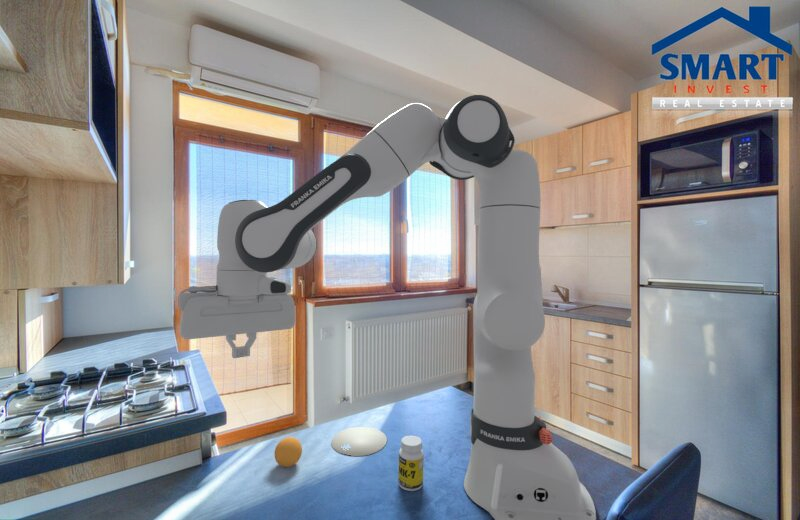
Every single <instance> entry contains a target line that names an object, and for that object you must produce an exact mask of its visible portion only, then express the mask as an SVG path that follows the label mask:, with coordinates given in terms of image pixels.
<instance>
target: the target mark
mask: <svg viewBox="0 0 800 520" xmlns="http://www.w3.org/2000/svg"><path fill="white" fill-rule="evenodd" d="M387 440H388V439H387V436H386V434H385V433H384V432H383V431H381V430H379V429H377V428H373V427H369V426H368V427H367V426H357V427H356V426H355V427H349V428H345V429H343V430H341V431H339V432H338V433H336V434H335V435H334V436H333V437H332V439H331V446H332V447H331V448H332V449H334V451H336V452H337V453H339V452H340V453H339V454H341V453H343V454H342V455H344V454H347V455H346V456H348V455H351V456H350V457H363V456H364V457H365V456H369V455H373V454H376V453H378V452H380V451H382V449H384V448H385V446H386V444H387ZM348 443H349V445H350V447H351V448H348V449H349V450H347V449H345V448H344V449H345V450H346V451H345V450H343V448H341V446H342V447H343V446H344V444H345V446H346V445H347V444H348Z"/></svg>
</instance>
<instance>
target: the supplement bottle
mask: <svg viewBox="0 0 800 520" xmlns="http://www.w3.org/2000/svg"><path fill="white" fill-rule="evenodd" d="M422 448H423V441H422V439H421V437H419V436H416V435H405V436H403V437H402V438H401V440H400V449H399V451H398V475H397V476H398V479H397V480H398V481H397V482H398V486H399V487H400V488H401V489H402V490H404V491H409V492H415V491H418V490H420V489H422V488H423V485H424V459H425V458H424V456H425V455H424V450H423V449H422Z"/></svg>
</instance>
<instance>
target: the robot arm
mask: <svg viewBox="0 0 800 520" xmlns="http://www.w3.org/2000/svg"><path fill="white" fill-rule="evenodd" d="M515 139H516V138H515V136H514V134H513V132H512V130H511V128H510V126H509V123H508V119H507V116H506V114H505V112H504V109H503V108H502V107H501V105H500V104H499V103H498V102H497V100H495V99H493V98H492V97H490V96H487V95H485V94H472V95H470V96H469V95H468V96H467V97H464V98H462V99H460V100H459V101H458V102H456V104H454V106H453V107H452V108H451V109H450V110H449V112H448V113H447V115H446V116H445V118H442V117H441V116H440V117H439V116H437V115H436V113H435V112H434V111H433V110H432V109H431V108H430V107H428V106H427V105H425V104H423V103H419V102H412V103H410V104H407V105H406V106H404V107H402V108H399V110H397V111H395V112H394V113H392V114H390V115H388V117H386V118H385V119H384V120H382V121H381V122H380V123H378V124H377V125H376V126H375V127H373V128H372V129H371V130H370V131H369V132H368V133H367V134H365V136H363V137H361V139H360V140H358V142H356V143H355V144H354V145H353V146H352V147H350V149H349V150H347V151H346V152H345V153H344V154H342V155H341V156H340V157H338V159H336V160H335V161H333V162H332V163H330V164H329V165H328V166H326V167H325V168H323V169H322V170H321V171H319V172H318V173H317V174H315V175H314V176H312V178H310V179H309V180H307V182H305V183H304V184H302V185H301V186H300V187H298V188H297V189H296V190H294V191H293V192H292V193H290V194H289V195H288V196H287V197H285V198H284V199H282V200H281V201H279V202H277V203H276V204H273V205H271V206H269V207H268V206H267V205H266V204H265V203H264V202H262V201H260V200H257V199H239V200H238V199H237V200H234V201H231V202H228V203H226V204H225V205H224V206H223V207H222V209H221V211H220V214H219V218H218V226H217V235H216V236H217V237H216V238H217V239H216V240H217V242H216V243H217V244H216V245H217V246H216V247H217V251H218V256H219V258H218V262H217V266H216V280H215V282H216V285H204V286H196V285H193V286H189V287H188V288H186V289H183V290H181V292H180V293H179V294H178V296H177V306H178V309H179V310H180V311H181V315H180V321H179V331H178V332H179V335H180V336H181V337H182V338H183V339H185V341H186V340H188V341H189V340H196V339H206V338H207V339H208V338H217V337H224V336H225V340H226V342H227V343H228V345H229V346H230V348H231V358H233V359H239V358H245V357H246V358H247V357H251V356H250V355H251V347H252V346H253V345H254V343H255V341H256V340H257V334H258V333H265V332H275V331H282V330H292V329H293V327H294V326H295V325H296V317H297V316H296V305H295V300H294V299H293V297H292V295H291V292H292V285H291V283H289V282H287V281H284V280H279V279H277V278H276V277H269V276H268V273H272V272H276V271H280V270H289V269H297V268H300V267H303V266H305V265H306V264H308V263H309V262H310V261H311V260H313V258H314V256H315V254H316V252H317V248H318V247H317V246H318V244H317V243H318V242H317V237H316V234H315V233H314V231H313V228H315V227H316V226H317V225H318V224H320V223H321V222H323V220H325V219H326V218H327V217H329V216H330V215H331V214H332V213H333V212H335V211H336V210H338V208H340V207H341V206H343V205H344V204H346V203H348V202H350V201H353V200H355V199H356V200H357V199H362V198H378V197H382V196H383V195H385V194H387V193H389V192H390V191H392V190H394V189H395V188H397V187H398V186H400V185H401V184H403V182H405V181H406V180H407V179H408V178H409V177H410V176H412V174H414V173H415V172H416V171H417V170H419V168H421V167H422V166H423V165H425V164H427V163H429V164H430V165H431V166H432V167H434V168H436V169H437V170H438V171H439V172H442V173H443V174H445V175H446V176H447V177H449V178H451V179H453V180H456V181H465V180H467V181H468V180H471V179H472V178H475V179H476V181H477V183H478V184H477V185H478V189H479V196H480V197H479V207H478V227H477V228H478V230H477V292H476V295H475V297H474V299H473V305H472V306H473V307H472V309H473V311H472V312H473V315H472V317H473V321H472V323H473V328H472V331H473V408H471V414H470V420H469V421H470V422H469V423H470V425H469V436H470V442H471V447H470V448H471V449H470V454H469V460H468V464H467V468H466V469H467V470H466V474H465V477H464V479H463V488H464V490H465V493H466V494H467V496H468V497H469V498H470V500H472V501H473V502H474V503H475V504H476V505H478V506H479V507H481V508H483V509H484V510H485V511H486V512H488V513H489V514H490V516H491V517H492V518H493V519H494V520H597V511H596V507H595V504H594V501H593V498H592V496H591V495H590V493H589V491H588V490H587V488H586V487H585V486H584V484H583V483H582V482H581V481H580V479H579V476H578V473H577V470H576V468H575V466H574V464H573V463H572V460H571V459H570V458H569V457H568V456H567V455H566V454H565V453H564V452H563V451H562V450H560V449H559V448H558V447H557V446H555V445H554V443H553V440H554V439H553V436H552V434H551V431H550V430H549V429H547V424H546V423H545V422H544V421H543V419H542V417H541V415H538V416H536V415H535V405H536V404H535V403H536V401H535V400H536V399H535V398H536V395H535V394H536V376H535V369H534V363H533V355H532V346H534V345H535V344H536V343H537V342H538V341H540V338H541V337H542V335H543V333H544V330H545V324H546V320H545V319H546V317H545V311H544V302H543V301H544V298H543V286H542V285H543V284H542V273H541V266H540V265H541V264H540V231H541V230H540V228H541V226H540V225H541V224H540V223H541V201H542V200H541V199H542V198H541V183H540V181H541V180H540V174H539V170H538V164H537V163H538V162H537V159H535V156H533V155H532V154H530V152H527V151H525V150H522V149H515V148H514V146H515V143H516V142H515V141H516V140H515ZM510 143H511V144H510ZM244 334H246V337H247V338H248V339H247V341H246V342H245V344H244V345H242V346H237V345H236V344H235V342H234V341H236V340H237V335H244Z"/></svg>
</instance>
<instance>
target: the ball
mask: <svg viewBox="0 0 800 520" xmlns="http://www.w3.org/2000/svg"><path fill="white" fill-rule="evenodd" d="M274 448H275V449H274V453H273V454H274V459H275V462H276V463H277V464H278V465H279V466H281V467H284V468H290V467H292V466H294V465H295V464H297V463H298V462H299V460H300V459H301V457H302V453H303V447H302V443H301V441H300V440H299V439H298V438H297V437H294V436H287V437H284V438H282V439H280V441H279V442H278V443H277V444H276V447H274Z"/></svg>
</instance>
